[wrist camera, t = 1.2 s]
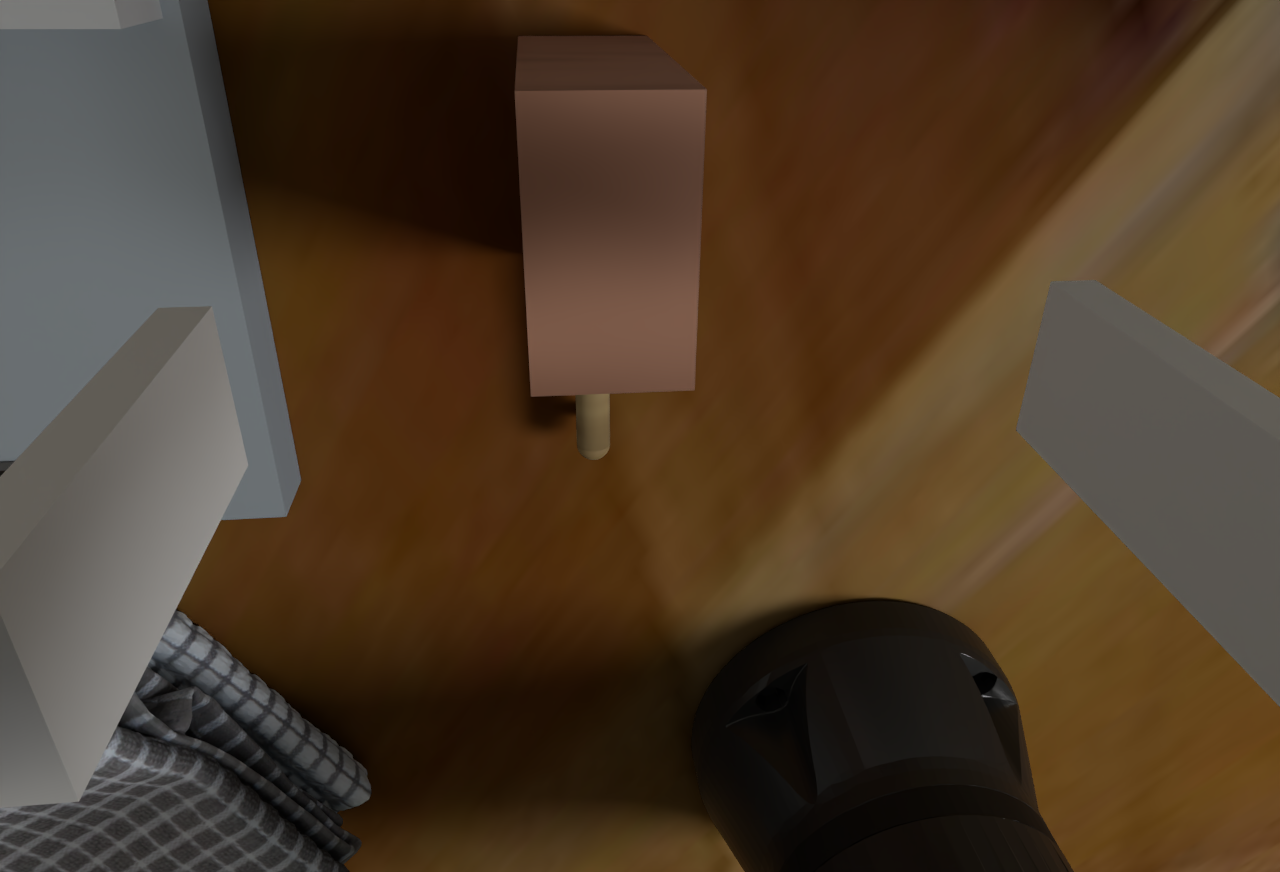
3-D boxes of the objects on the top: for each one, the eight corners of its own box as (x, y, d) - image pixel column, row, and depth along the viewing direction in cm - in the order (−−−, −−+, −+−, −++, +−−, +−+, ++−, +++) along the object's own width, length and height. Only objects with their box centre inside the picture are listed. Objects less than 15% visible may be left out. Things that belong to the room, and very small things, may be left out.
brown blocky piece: (642, 432, 36) (685, 616, 26) (538, 436, 35) (542, 625, 26) (647, 35, 29) (706, 89, 19) (518, 35, 29) (514, 90, 19)
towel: (-177, 756, 39) (-325, 931, 33) (158, 555, 36) (73, 701, 30) (98, 930, 46) (24, 1103, 40) (398, 773, 44) (374, 931, 37)
